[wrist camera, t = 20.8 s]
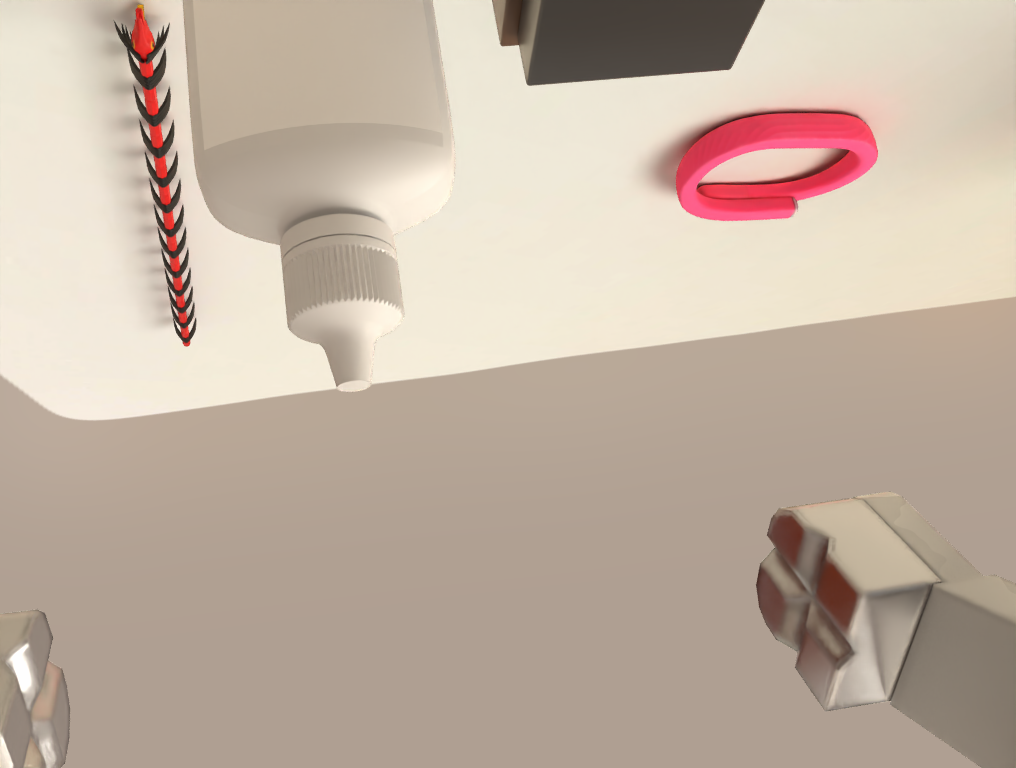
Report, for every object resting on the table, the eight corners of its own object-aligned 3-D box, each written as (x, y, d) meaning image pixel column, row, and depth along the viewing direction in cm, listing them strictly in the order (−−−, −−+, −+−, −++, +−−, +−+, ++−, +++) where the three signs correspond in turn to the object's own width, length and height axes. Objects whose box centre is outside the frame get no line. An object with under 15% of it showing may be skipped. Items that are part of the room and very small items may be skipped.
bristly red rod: (166, -9, 24) (169, 30, 23) (201, 324, 44) (202, 348, 43) (108, -13, 23) (109, 27, 23) (169, 325, 43) (171, 349, 43)
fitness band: (650, 194, 38) (658, 226, 38) (706, 110, 33) (715, 147, 33) (820, 187, 40) (829, 218, 40) (899, 108, 35) (911, 142, 35)
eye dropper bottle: (216, -200, 19) (261, 334, 15) (445, -101, 22) (526, 357, 19) (157, -54, 22) (182, 414, 19) (363, 14, 26) (419, 422, 22)
